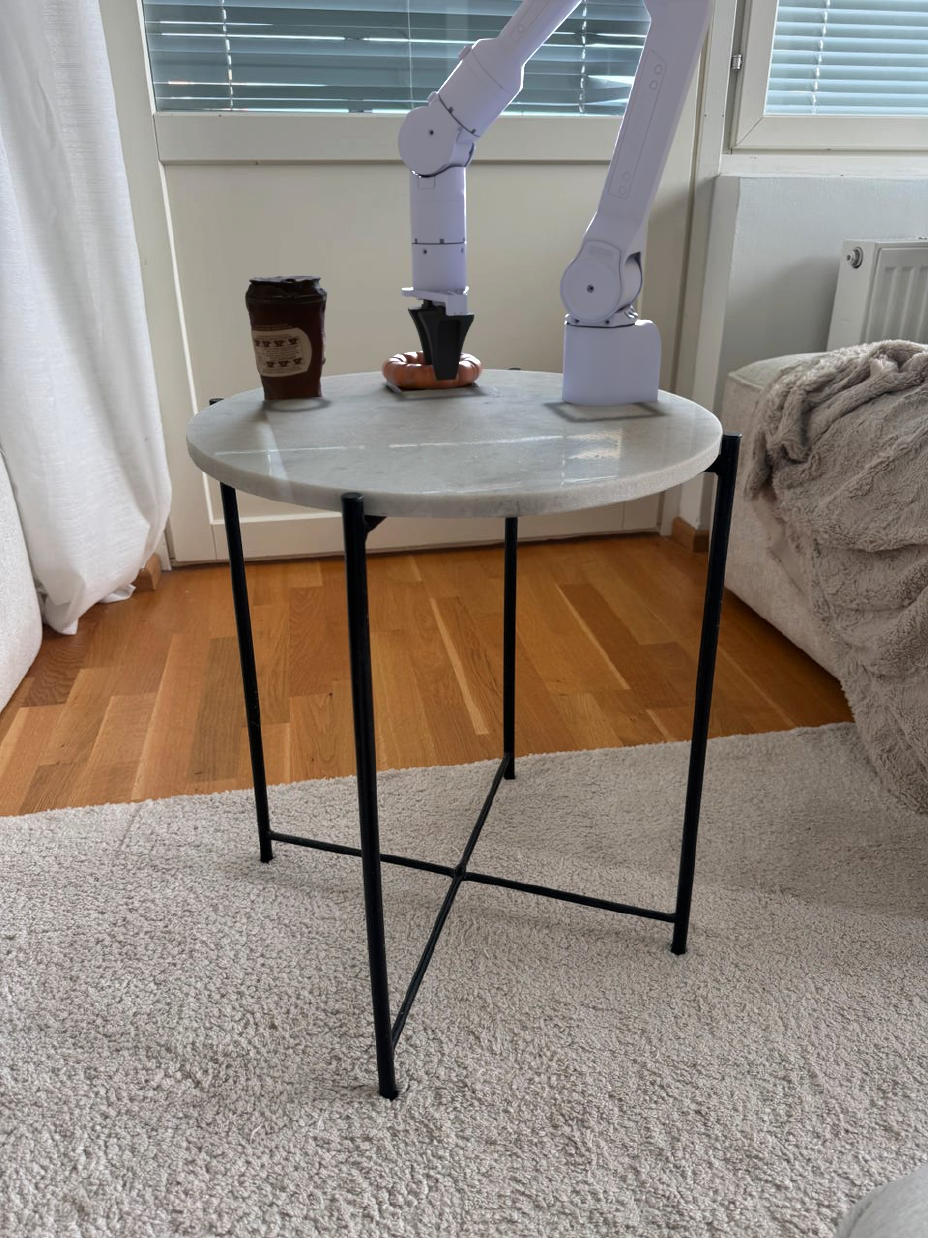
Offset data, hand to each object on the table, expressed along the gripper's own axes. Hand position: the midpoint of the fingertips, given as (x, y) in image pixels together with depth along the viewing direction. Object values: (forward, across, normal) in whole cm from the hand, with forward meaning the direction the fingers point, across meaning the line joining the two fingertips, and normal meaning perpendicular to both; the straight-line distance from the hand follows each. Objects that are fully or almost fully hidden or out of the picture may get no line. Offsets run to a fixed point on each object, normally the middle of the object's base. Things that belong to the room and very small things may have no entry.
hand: (441, 376), depth 100 cm
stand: (+2, -4, 0) cm, 5 cm away
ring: (0, -4, 0) cm, 4 cm away
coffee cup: (+2, -2, -16) cm, 16 cm away
